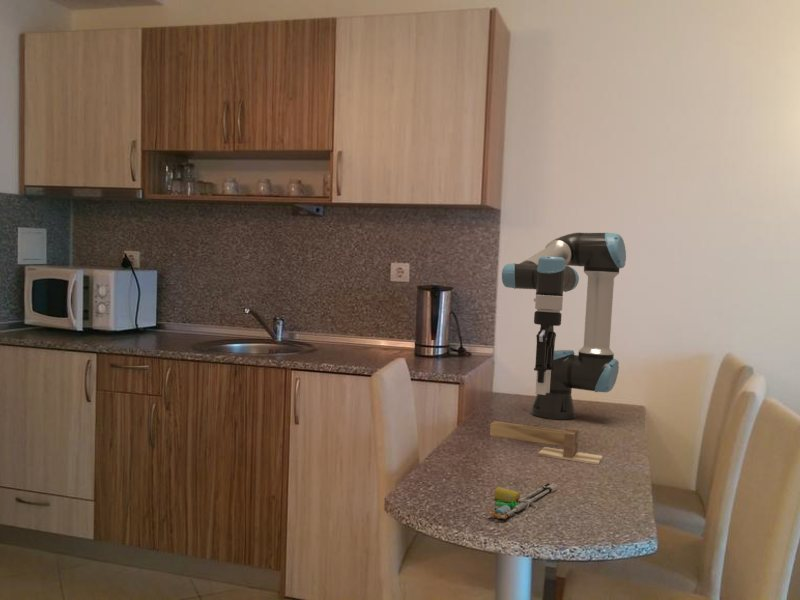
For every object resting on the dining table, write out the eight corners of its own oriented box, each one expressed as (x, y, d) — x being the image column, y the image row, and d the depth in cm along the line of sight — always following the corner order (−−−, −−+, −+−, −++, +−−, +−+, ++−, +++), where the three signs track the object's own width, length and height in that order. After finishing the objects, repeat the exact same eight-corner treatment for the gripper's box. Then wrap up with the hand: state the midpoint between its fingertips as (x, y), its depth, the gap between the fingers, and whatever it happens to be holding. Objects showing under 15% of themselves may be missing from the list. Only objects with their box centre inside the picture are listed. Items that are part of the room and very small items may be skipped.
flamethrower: (467, 513, 137) (513, 528, 132) (468, 500, 137) (515, 515, 132) (523, 483, 162) (564, 495, 156) (524, 472, 162) (566, 483, 156)
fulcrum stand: (544, 449, 194) (545, 424, 194) (602, 457, 188) (604, 432, 187) (537, 455, 187) (539, 429, 187) (598, 464, 180) (600, 438, 180)
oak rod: (493, 434, 211) (494, 421, 211) (573, 445, 202) (573, 432, 202) (489, 436, 207) (490, 423, 207) (570, 448, 198) (571, 434, 198)
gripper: (542, 309, 204) (536, 388, 205) (527, 310, 189) (521, 395, 189) (567, 311, 201) (562, 391, 201) (554, 312, 185) (548, 398, 186)
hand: (542, 393), depth 195 cm, fingers open, 4 cm apart
